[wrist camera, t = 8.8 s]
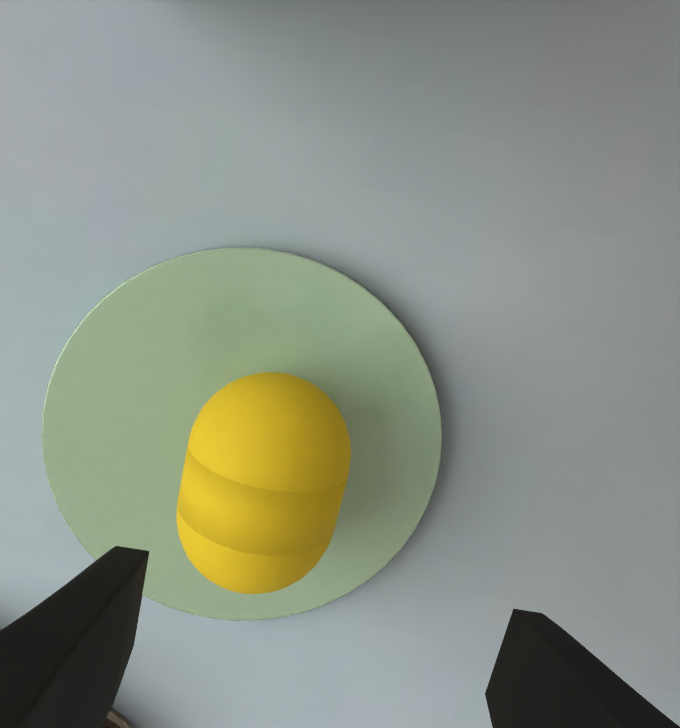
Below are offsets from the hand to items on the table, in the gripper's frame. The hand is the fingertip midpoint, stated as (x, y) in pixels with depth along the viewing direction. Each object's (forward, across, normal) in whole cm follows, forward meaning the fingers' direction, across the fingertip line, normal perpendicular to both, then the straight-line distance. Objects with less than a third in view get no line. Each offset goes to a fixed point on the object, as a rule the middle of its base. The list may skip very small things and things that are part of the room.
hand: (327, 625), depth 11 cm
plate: (+9, +2, 0) cm, 9 cm away
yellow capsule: (+8, +2, 0) cm, 8 cm away
